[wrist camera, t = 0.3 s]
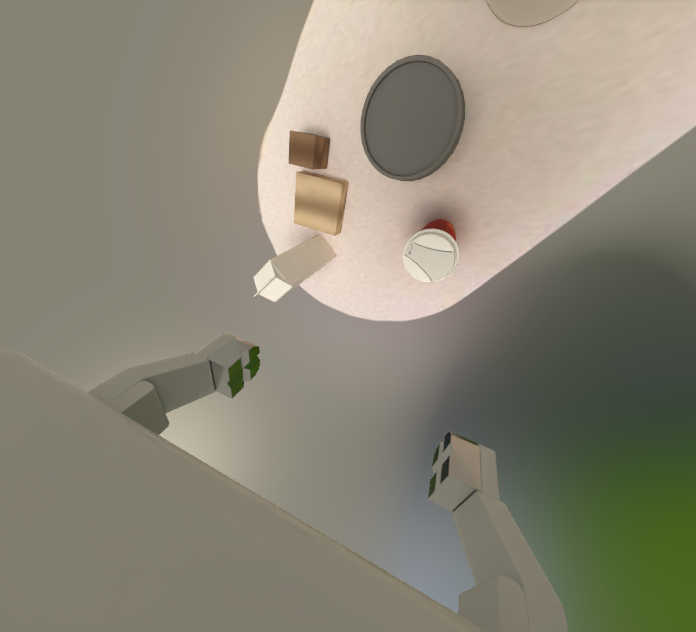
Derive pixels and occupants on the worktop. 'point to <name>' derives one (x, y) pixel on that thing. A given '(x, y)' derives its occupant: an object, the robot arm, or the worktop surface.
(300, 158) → the walnut cube
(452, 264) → the coffee cup
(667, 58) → the worktop surface
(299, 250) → the milk
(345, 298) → the worktop surface
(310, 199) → the oak plinth
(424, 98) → the reusable coffee cup
